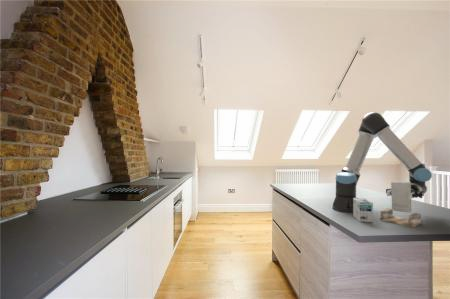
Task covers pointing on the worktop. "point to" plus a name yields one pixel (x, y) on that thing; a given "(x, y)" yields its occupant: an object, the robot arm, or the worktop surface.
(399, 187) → the skincare box
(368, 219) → the light bulb box
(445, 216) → the worktop surface
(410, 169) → the robot arm
